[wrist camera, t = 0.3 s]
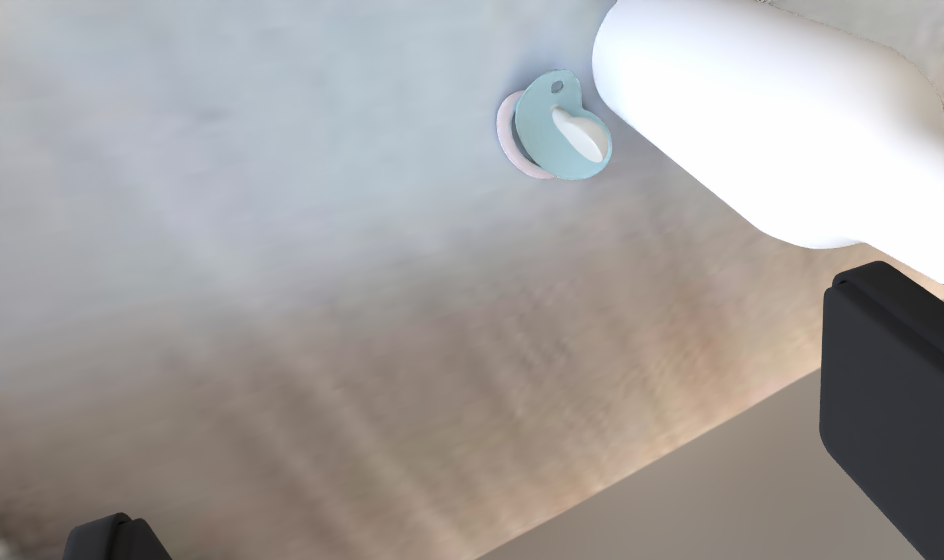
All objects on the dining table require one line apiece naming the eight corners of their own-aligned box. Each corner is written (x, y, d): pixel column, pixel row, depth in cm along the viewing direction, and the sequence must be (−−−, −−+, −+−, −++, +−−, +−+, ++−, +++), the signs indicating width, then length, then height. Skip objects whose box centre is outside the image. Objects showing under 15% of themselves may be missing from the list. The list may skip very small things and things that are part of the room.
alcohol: (748, 24, 48) (1293, 245, 22) (659, 142, 50) (1056, 458, 25) (649, -60, 44) (1175, 93, 18) (558, 73, 46) (909, 365, 21)
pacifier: (534, 194, 50) (611, 140, 49) (563, 239, 45) (650, 179, 44) (472, 108, 46) (555, 47, 46) (496, 145, 41) (590, 78, 40)
